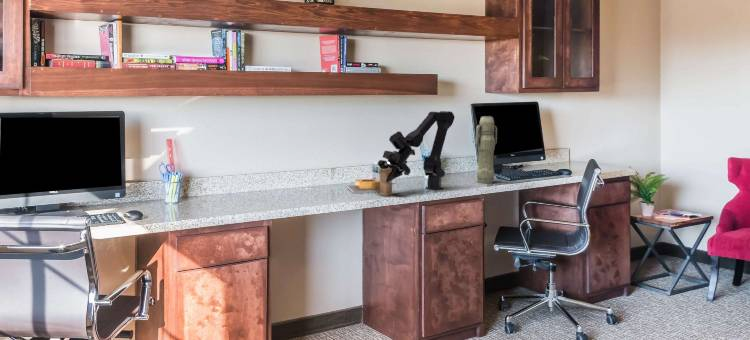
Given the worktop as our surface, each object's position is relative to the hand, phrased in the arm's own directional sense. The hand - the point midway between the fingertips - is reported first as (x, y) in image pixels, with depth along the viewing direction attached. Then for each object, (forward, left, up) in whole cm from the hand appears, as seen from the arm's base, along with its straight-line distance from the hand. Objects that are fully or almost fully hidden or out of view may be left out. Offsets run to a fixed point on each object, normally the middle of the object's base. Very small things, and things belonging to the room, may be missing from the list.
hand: (383, 180), depth 327 cm
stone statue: (-70, -1, -7) cm, 71 cm away
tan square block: (-1, 0, -7) cm, 7 cm away
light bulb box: (-25, -31, -7) cm, 41 cm away
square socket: (-3, -16, -7) cm, 18 cm away
